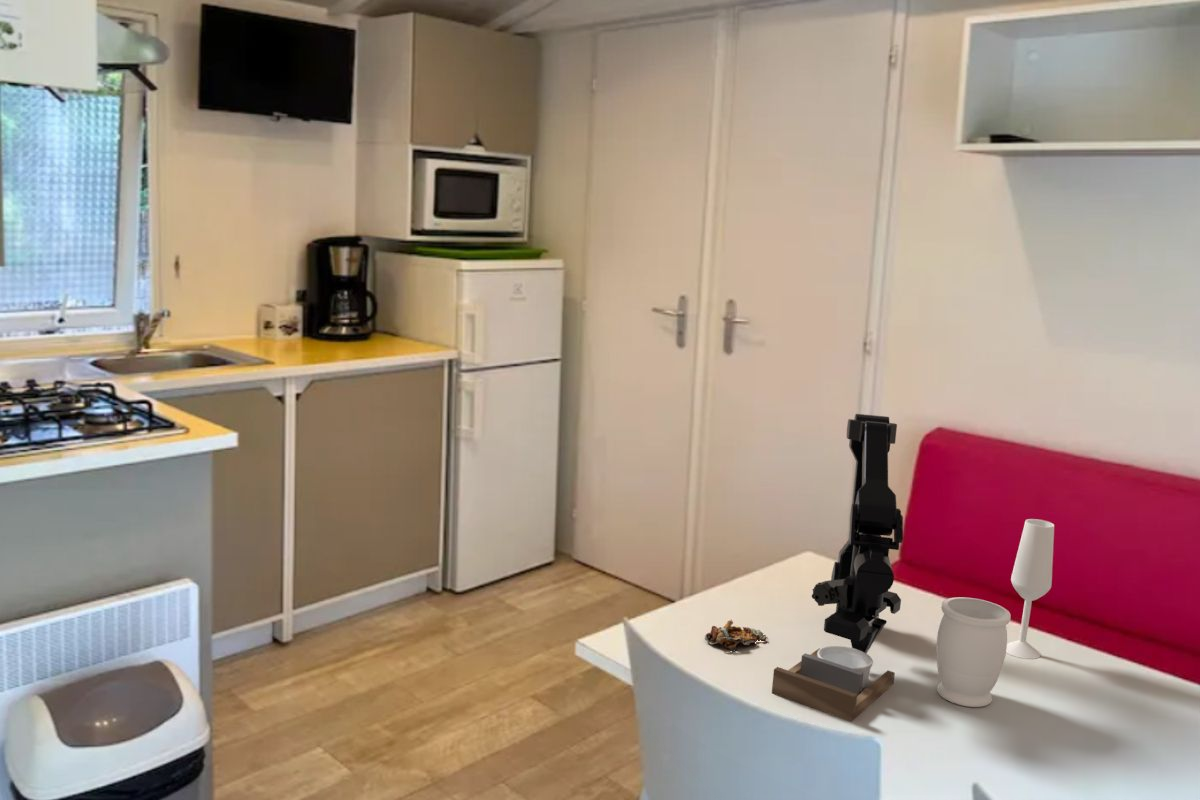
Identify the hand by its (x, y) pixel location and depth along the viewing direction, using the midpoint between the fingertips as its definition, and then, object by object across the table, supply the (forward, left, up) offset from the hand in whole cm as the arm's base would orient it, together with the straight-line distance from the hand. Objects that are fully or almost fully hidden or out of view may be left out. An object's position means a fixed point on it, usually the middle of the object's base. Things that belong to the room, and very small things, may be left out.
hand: (858, 660), depth 176 cm
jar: (-3, +17, -2) cm, 17 cm away
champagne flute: (-29, +19, -2) cm, 35 cm away
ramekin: (+6, 0, -2) cm, 6 cm away
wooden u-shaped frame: (+9, 0, -2) cm, 9 cm away
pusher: (+11, 0, -1) cm, 11 cm away
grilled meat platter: (+4, -21, -2) cm, 21 cm away
